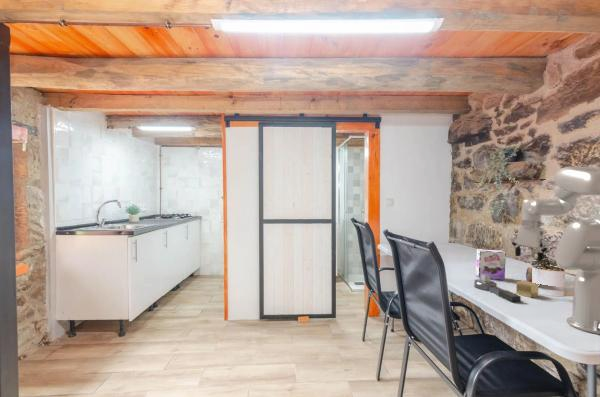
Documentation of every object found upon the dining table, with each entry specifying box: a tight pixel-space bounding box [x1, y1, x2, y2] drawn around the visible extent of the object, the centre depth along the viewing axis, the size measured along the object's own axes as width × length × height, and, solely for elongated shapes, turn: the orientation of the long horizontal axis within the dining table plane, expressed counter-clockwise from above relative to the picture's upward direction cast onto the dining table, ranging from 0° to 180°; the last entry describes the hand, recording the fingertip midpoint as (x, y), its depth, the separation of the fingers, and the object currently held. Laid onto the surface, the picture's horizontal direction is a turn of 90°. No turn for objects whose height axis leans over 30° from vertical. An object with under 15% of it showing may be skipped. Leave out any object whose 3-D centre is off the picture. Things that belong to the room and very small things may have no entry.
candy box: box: [474, 248, 507, 281], centre depth 177 cm, size 14×6×16 cm, turn 76°
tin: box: [525, 267, 533, 282], centre depth 167 cm, size 15×3×8 cm, turn 160°
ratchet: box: [474, 274, 522, 303], centre depth 151 cm, size 25×10×7 cm, turn 6°
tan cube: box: [515, 280, 539, 299], centre depth 149 cm, size 6×6×6 cm
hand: (528, 258), depth 149 cm, fingers open, 9 cm apart
